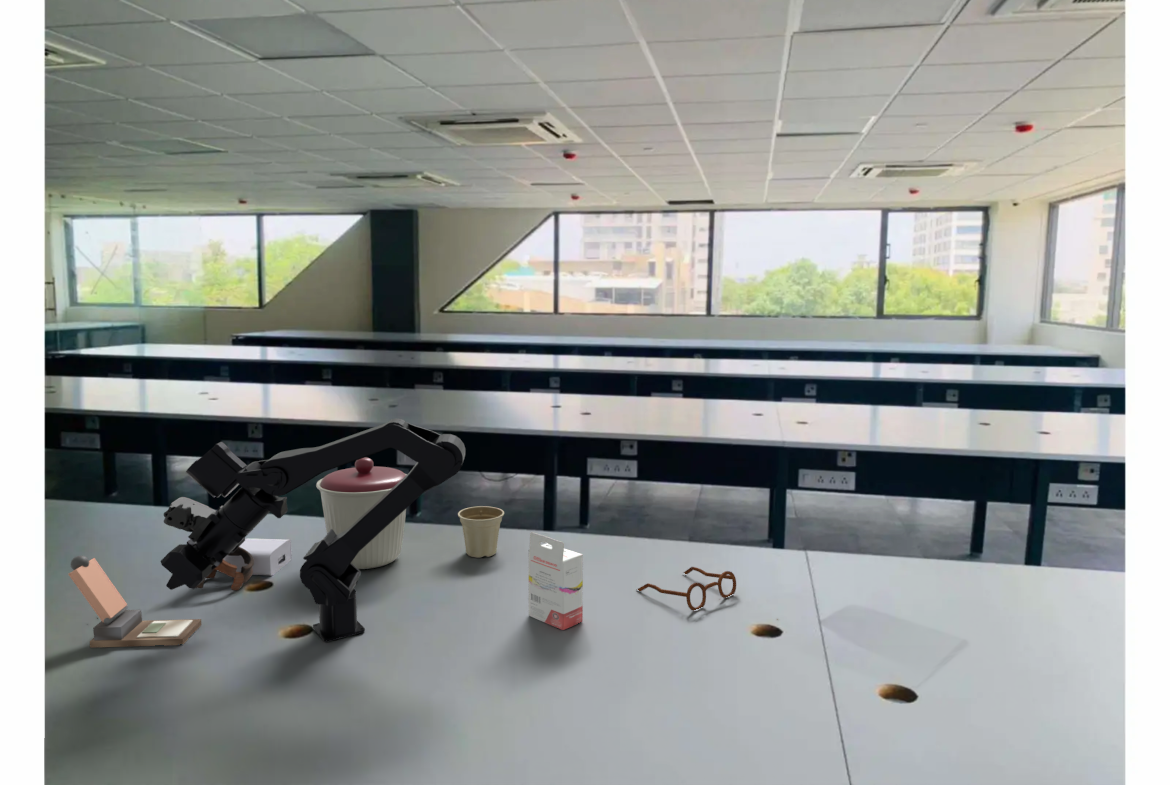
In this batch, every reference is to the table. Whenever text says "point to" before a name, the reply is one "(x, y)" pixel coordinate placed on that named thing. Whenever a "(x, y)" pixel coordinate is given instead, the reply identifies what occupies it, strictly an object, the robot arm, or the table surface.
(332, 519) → the canister
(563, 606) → the ink cartridge box
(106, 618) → the toggle lever
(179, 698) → the table surface
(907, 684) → the table surface
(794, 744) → the table surface
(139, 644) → the switch unit
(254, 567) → the charger
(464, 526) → the flower pot
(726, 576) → the glasses
